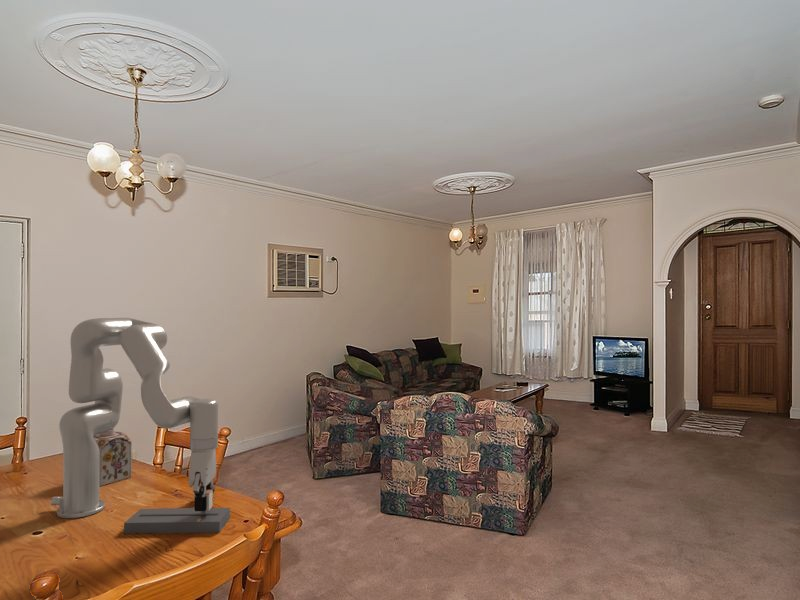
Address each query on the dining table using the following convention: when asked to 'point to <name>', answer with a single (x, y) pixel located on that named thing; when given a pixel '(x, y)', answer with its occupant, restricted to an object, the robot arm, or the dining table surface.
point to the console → (177, 521)
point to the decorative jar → (114, 456)
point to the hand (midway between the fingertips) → (203, 506)
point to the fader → (208, 500)
